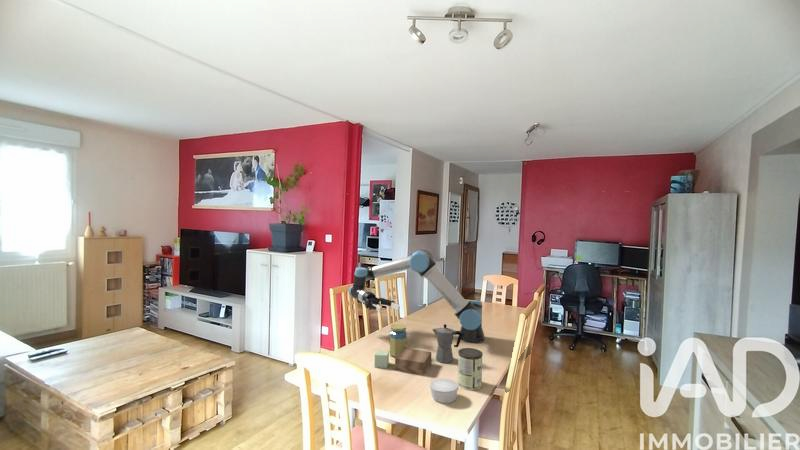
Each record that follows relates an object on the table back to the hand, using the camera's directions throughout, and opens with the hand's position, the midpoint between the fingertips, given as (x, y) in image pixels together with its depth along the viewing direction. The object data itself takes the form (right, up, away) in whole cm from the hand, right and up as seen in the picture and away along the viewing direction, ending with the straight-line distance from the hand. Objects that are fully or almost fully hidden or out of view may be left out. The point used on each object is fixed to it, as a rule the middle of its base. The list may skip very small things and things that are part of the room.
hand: (389, 309), depth 190 cm
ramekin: (+23, -23, -51) cm, 61 cm away
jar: (+5, -22, -9) cm, 24 cm away
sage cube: (-3, -22, -22) cm, 31 cm away
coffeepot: (+29, -23, -14) cm, 39 cm away
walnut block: (+12, -22, -23) cm, 34 cm away
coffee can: (+36, -23, -40) cm, 58 cm away
